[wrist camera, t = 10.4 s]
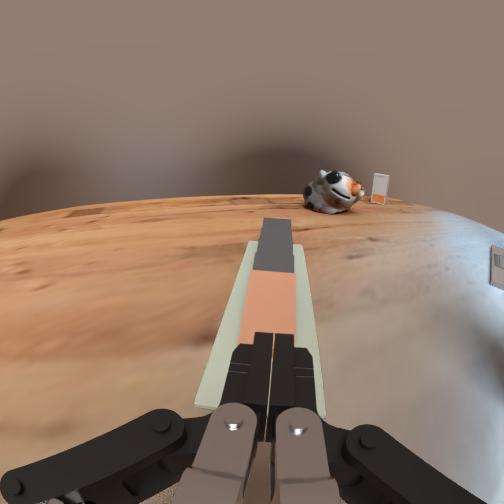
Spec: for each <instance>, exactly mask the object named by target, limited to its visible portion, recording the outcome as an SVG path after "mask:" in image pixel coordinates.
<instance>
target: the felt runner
mask: <svg viewBox="0 0 504 504" xmlns="http://www.w3.org/2000/svg"><path fill="white" fill-rule="evenodd" d="M257 247H258V241H249V243H248V246H247V249H246V252H245V255H244V258H243V261H242V264H241V266H240V269H239V272H238V275H237V278H236V281H235V284H234V287H233V290H232V293H231V295H230V298H229V301H228V304H227V307H226V310H225V313H224V316H223V319H222V322H221V325H220V328H219V330H218V333H217V336H216V339H215V342H214V345H213V348H212V351H211V354H210V357H209V360H208V363H207V366H206V369H205V372H204V375H203V378H202V381H201V384H200V386H199V389H198V392H197V395H196V398H195V401H194V407H198V408H204V409H210V410H215V409H216V408H217V407H218V406H219V404H220V401H221V397H222V393H223V389H224V385H225V381H226V377H227V373H228V369H229V365H230V360H231V356H232V352H233V351H234V349H235V348H236V347H237V345H238V340H239V334H240V328H241V322H242V317H243V311H244V305H245V300H246V294H247V288H248V282H249V277H250V271H251V270H252V269H253V263H254V257H255V252H257ZM293 255H294V273H296V336H295V347H302V348H307V349H308V351H309V352H310V354H311V355H312V357H313V366H314V368H313V369H314V378H315V391H316V405H317V412H318V414H319V416H320V417H321V419H325V417H326V410H325V400H324V391H323V382H322V373H321V365H320V357H319V349H318V341H317V334H316V327H315V320H314V313H313V306H312V300H311V293H310V287H309V281H308V275H307V269H306V263H305V257H304V252H303V246H302V245H298V244H293ZM272 361H273V358H272ZM271 371H272V362H271ZM270 384H271V374H270ZM269 396H270V386H269ZM268 407H269V398H268ZM267 416H268V408H267Z"/></svg>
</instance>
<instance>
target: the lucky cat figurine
mask: <svg viewBox="0 0 504 504" xmlns="http://www.w3.org/2000/svg"><path fill="white" fill-rule="evenodd" d="M365 192H366V191H365V190H364V188H362V187H361V182H359V181H354V180H353V179H352V178H351V177H350V176H349V175H347V174H346V173H344V172H337V171H332V172H327V173H326V172H325V171H323V170H321V171H320V172H319V173H318V176H317V177H316V178H315V179H314V181H313V182H311V183H309V184H307V185H306V187H305V189H304V192H303V197H304V200H305V203H306V205H308V206H311V208H312V210H313V211H315V212H319V213H325V214H331V215H332V214H334V213H336V212H341V211H344V210H349V209H350V207H351V206H352V205H353V204H354V203H356V202H357V201H359V200H360V199H361V198H362V197H363V195H364V194H365Z"/></svg>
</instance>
